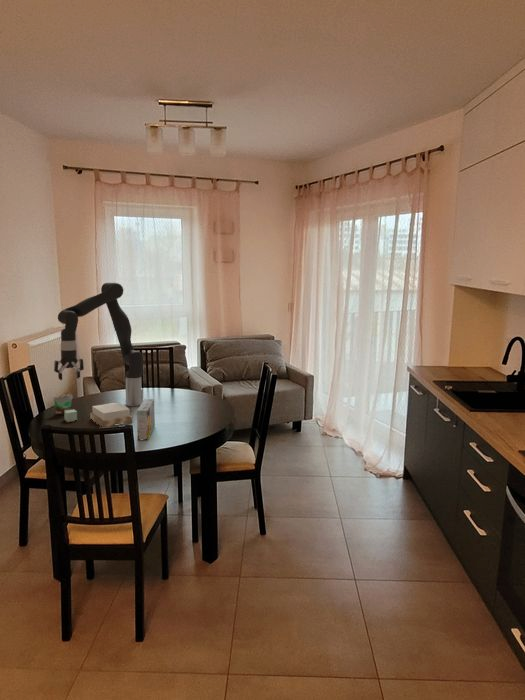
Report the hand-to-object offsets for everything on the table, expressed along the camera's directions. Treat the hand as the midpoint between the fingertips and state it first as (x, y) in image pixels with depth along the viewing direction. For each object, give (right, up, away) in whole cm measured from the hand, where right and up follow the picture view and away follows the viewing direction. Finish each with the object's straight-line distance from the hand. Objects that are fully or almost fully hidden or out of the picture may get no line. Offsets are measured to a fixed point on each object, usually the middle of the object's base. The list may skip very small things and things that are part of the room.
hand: (69, 379), depth 238 cm
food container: (-9, -20, +16) cm, 27 cm away
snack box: (+44, -27, -13) cm, 53 cm away
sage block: (-1, -22, +4) cm, 23 cm away
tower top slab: (+21, -20, +4) cm, 29 cm away
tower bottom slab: (+21, -23, +5) cm, 32 cm away
